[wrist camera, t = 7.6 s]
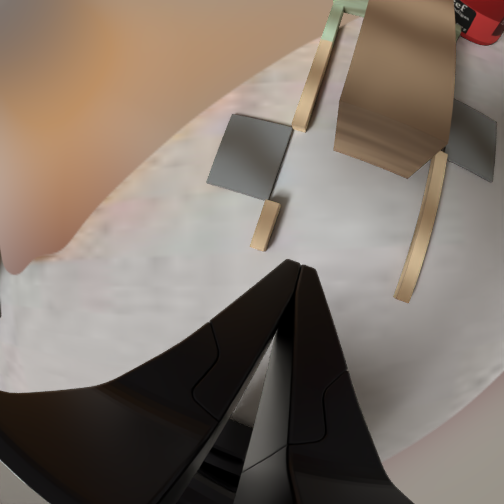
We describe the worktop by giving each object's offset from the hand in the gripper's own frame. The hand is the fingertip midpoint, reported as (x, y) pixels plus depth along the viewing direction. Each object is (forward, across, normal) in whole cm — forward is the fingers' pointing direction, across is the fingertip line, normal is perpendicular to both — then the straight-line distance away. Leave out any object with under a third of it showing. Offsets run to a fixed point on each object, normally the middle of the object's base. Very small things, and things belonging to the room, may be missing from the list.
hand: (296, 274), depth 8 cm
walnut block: (+20, -4, -5) cm, 20 cm away
